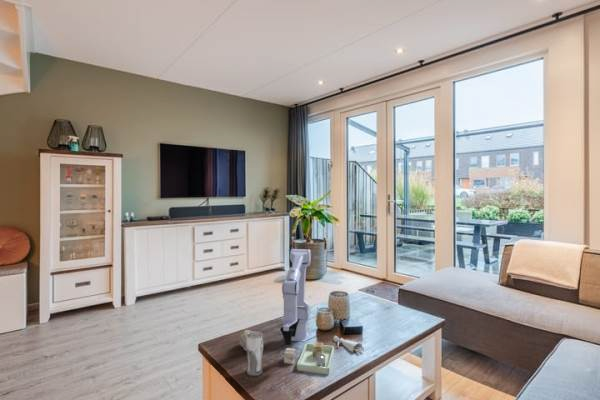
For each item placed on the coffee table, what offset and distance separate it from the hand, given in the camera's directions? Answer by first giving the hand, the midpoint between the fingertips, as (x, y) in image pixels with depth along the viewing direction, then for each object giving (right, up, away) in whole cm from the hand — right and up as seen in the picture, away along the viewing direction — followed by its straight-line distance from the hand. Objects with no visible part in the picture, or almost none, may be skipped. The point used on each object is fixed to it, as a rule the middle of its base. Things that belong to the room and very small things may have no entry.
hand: (290, 340), depth 132 cm
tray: (+11, -10, +1) cm, 15 cm away
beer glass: (-14, -10, -7) cm, 18 cm away
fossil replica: (-19, -9, +12) cm, 24 cm away
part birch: (0, -10, 0) cm, 10 cm away
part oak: (+12, -9, +4) cm, 16 cm away
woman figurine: (+26, -10, +14) cm, 31 cm away
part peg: (+12, -9, -5) cm, 16 cm away
